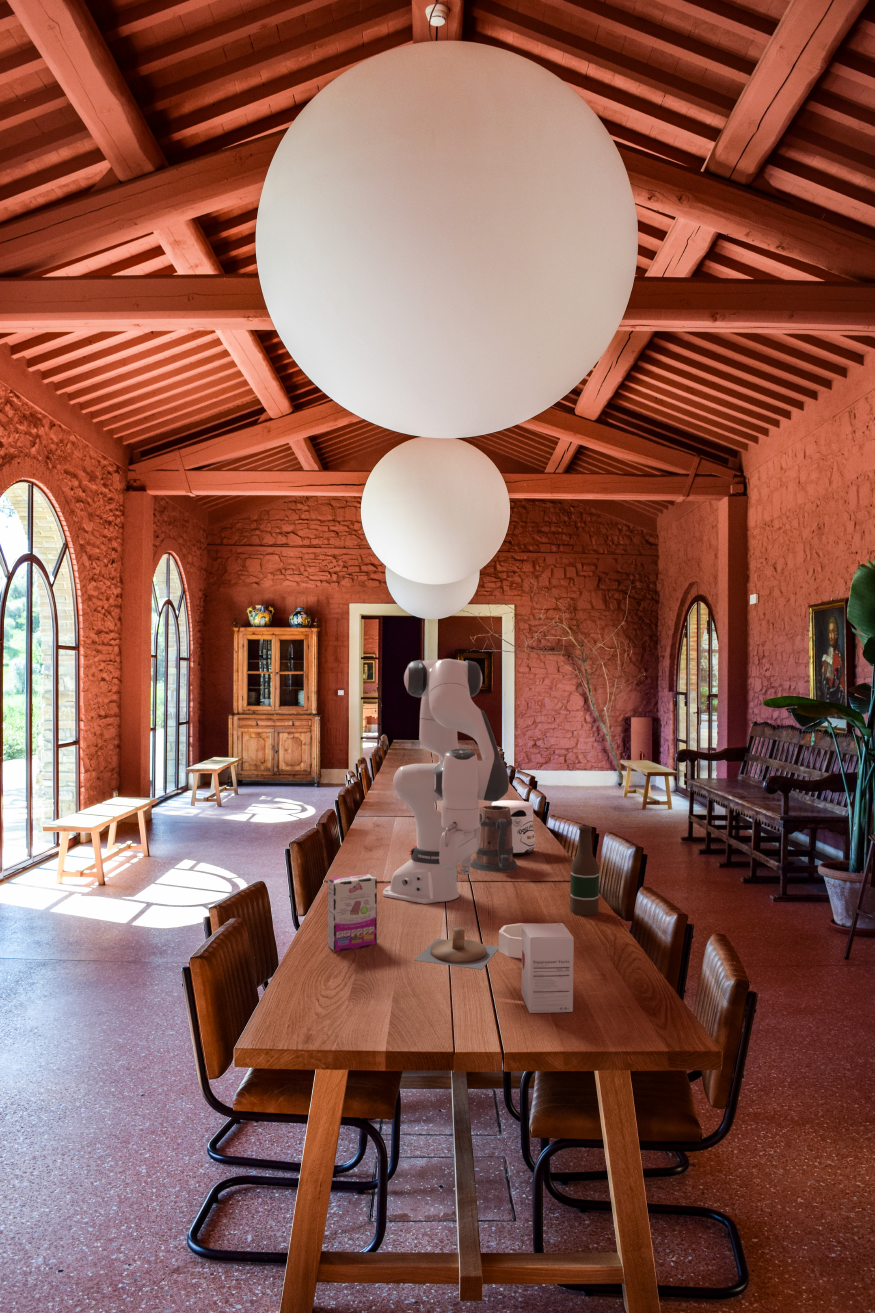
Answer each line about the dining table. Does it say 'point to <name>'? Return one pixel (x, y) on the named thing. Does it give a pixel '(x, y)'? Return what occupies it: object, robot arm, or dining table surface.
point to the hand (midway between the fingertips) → (459, 878)
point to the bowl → (511, 940)
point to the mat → (480, 964)
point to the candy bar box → (352, 912)
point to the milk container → (520, 825)
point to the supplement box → (547, 968)
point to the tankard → (495, 841)
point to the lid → (458, 949)
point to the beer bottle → (584, 877)
